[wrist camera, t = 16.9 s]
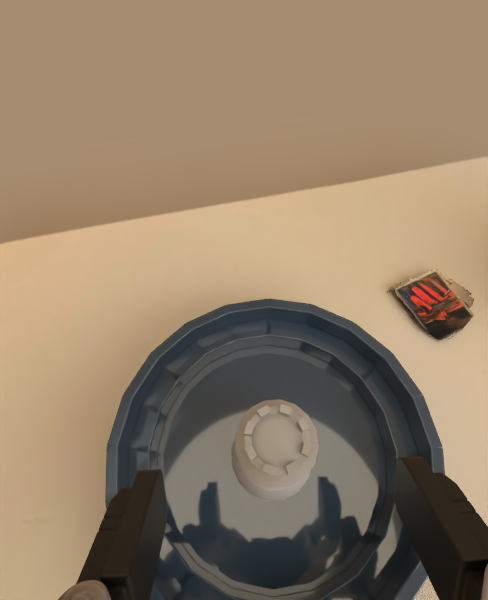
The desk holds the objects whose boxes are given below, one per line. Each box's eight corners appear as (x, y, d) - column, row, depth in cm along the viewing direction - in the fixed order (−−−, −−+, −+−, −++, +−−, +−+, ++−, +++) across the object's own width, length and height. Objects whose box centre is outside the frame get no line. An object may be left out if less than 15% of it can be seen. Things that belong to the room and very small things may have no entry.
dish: (355, 720, 16) (382, 784, 13) (73, 522, 20) (33, 528, 17) (445, 393, 23) (479, 375, 19) (217, 291, 27) (211, 260, 23)
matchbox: (444, 347, 24) (447, 345, 23) (381, 296, 26) (383, 292, 25) (484, 305, 25) (488, 302, 25) (422, 259, 27) (425, 255, 27)
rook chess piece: (243, 512, 19) (233, 524, 12) (223, 427, 21) (205, 395, 14) (322, 487, 20) (358, 486, 13) (296, 406, 22) (314, 365, 15)
